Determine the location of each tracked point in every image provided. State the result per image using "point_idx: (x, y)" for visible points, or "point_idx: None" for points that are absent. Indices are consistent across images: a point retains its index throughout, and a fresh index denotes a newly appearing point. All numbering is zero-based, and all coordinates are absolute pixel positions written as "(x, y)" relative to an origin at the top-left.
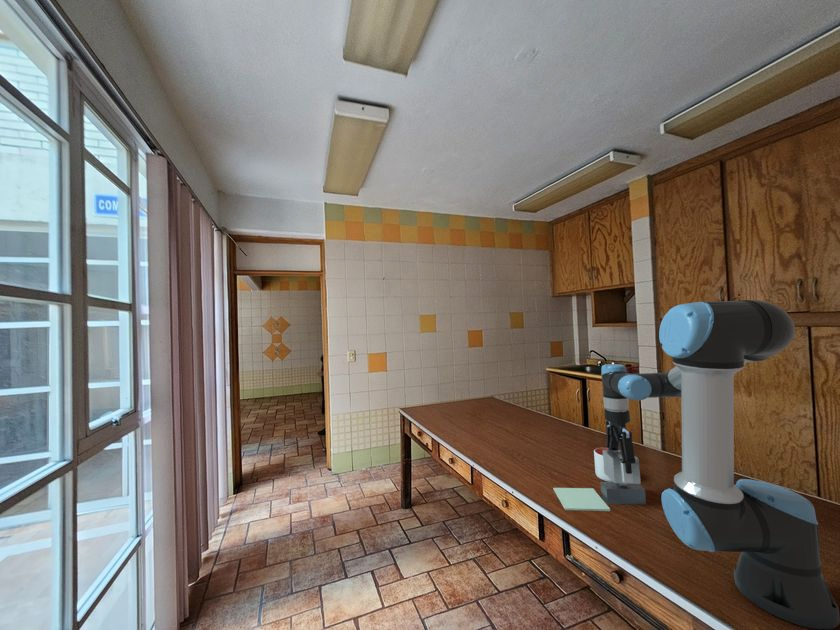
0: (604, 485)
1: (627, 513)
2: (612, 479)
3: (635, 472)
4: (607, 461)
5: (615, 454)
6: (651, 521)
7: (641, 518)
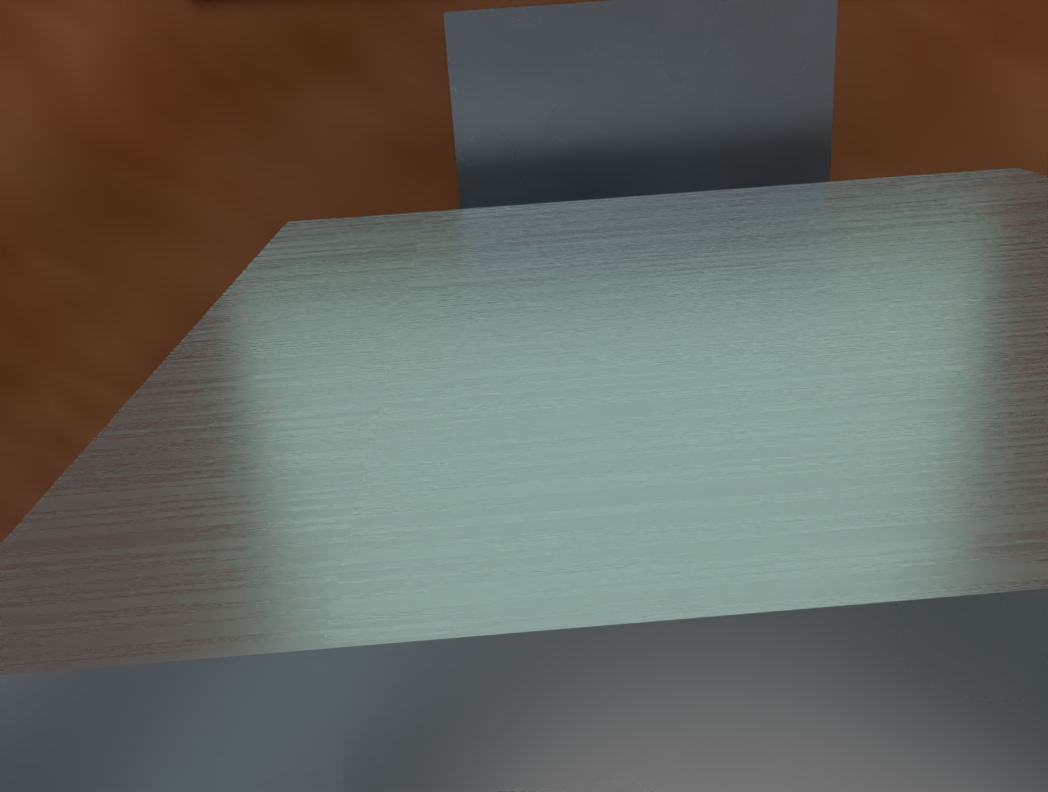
0: (627, 22)
1: (175, 243)
2: (436, 221)
3: None
4: (902, 338)
5: None
6: (18, 496)
7: (68, 395)
